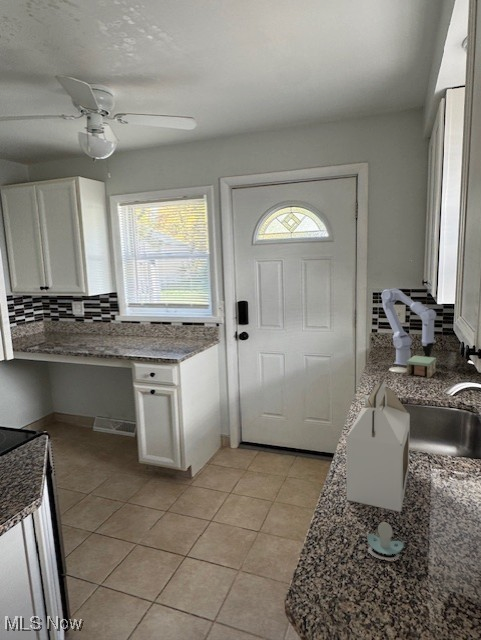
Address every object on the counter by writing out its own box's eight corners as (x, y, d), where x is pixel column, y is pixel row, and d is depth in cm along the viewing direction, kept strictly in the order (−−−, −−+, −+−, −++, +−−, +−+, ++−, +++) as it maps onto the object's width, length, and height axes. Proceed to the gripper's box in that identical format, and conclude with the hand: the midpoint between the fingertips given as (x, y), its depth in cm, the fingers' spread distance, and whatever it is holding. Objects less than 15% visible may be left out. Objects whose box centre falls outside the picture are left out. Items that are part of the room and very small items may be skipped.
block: (416, 372, 218) (417, 363, 217) (426, 373, 215) (427, 364, 214) (414, 374, 214) (414, 365, 214) (424, 375, 211) (424, 366, 210)
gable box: (362, 462, 125) (362, 373, 121) (408, 470, 119) (410, 377, 115) (346, 500, 106) (345, 396, 102) (400, 513, 100) (402, 402, 96)
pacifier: (401, 568, 82) (404, 548, 88) (401, 540, 81) (404, 522, 86) (363, 558, 86) (368, 539, 91) (363, 531, 85) (368, 514, 90)
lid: (414, 358, 223) (414, 355, 223) (436, 360, 217) (436, 357, 216) (406, 363, 213) (406, 361, 212) (429, 366, 206) (429, 363, 206)
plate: (392, 367, 230) (392, 366, 229) (411, 369, 223) (411, 368, 223) (386, 371, 222) (386, 370, 222) (405, 374, 216) (405, 372, 215)
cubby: (414, 369, 224) (414, 358, 223) (435, 371, 217) (436, 360, 217) (406, 374, 214) (406, 363, 213) (429, 377, 207) (429, 366, 206)
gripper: (432, 334, 214) (432, 360, 216) (439, 330, 225) (438, 354, 227) (418, 333, 218) (417, 358, 220) (425, 329, 229) (425, 353, 231)
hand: (427, 356), depth 224 cm, fingers closed
